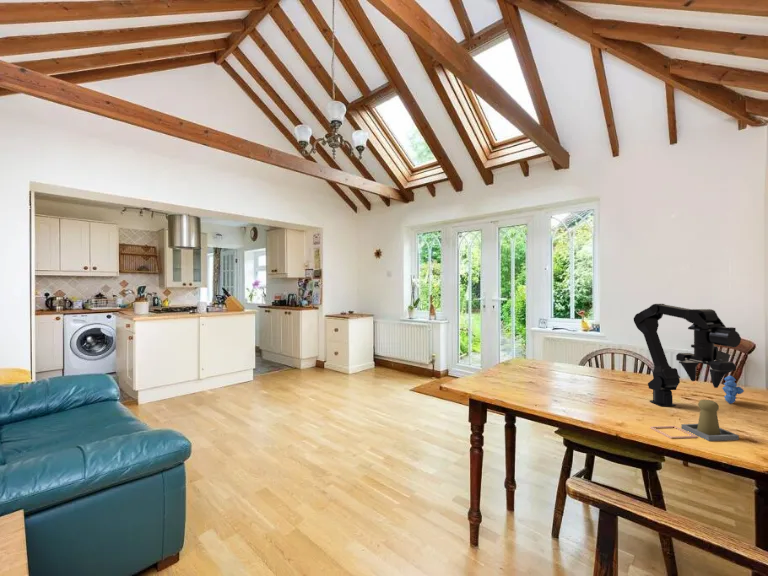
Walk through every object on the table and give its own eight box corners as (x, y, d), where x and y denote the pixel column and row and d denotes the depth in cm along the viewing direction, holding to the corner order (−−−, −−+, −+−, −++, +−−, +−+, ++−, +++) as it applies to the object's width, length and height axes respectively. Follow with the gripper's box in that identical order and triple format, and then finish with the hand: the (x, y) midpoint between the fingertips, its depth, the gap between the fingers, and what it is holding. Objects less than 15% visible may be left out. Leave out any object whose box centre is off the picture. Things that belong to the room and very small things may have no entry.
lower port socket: (681, 428, 128) (681, 424, 128) (709, 427, 128) (709, 423, 128) (708, 441, 118) (708, 436, 118) (738, 439, 118) (738, 435, 118)
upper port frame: (649, 428, 129) (649, 426, 129) (674, 427, 129) (674, 425, 129) (671, 438, 120) (671, 437, 120) (697, 437, 120) (697, 436, 120)
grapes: (746, 409, 146) (746, 379, 146) (723, 406, 150) (723, 377, 150) (742, 401, 155) (742, 373, 155) (720, 398, 159) (720, 371, 159)
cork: (703, 428, 127) (703, 396, 127) (725, 434, 121) (724, 402, 121) (692, 430, 125) (692, 399, 125) (713, 437, 119) (713, 404, 119)
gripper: (750, 346, 127) (750, 391, 127) (701, 338, 146) (701, 377, 146) (720, 347, 127) (720, 391, 127) (674, 339, 145) (675, 378, 146)
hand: (704, 384), depth 136 cm, fingers open, 9 cm apart
